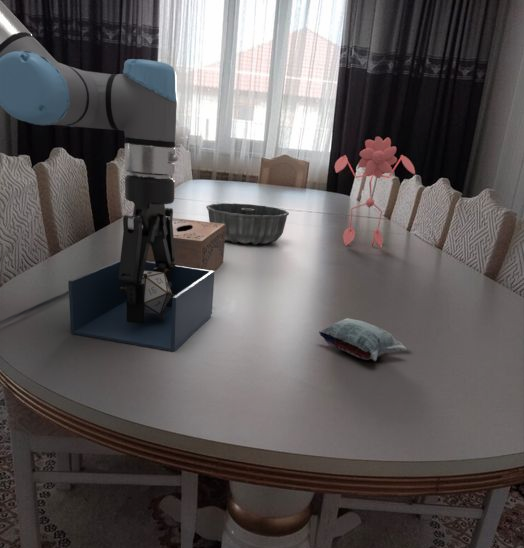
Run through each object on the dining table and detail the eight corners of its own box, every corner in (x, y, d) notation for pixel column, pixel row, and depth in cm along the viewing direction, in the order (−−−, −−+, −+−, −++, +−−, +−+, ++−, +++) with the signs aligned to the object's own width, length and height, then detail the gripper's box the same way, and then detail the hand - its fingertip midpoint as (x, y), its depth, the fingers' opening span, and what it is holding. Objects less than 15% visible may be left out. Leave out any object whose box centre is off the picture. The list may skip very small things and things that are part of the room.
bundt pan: (198, 243, 157) (200, 209, 153) (210, 229, 181) (211, 199, 177) (285, 252, 157) (289, 218, 153) (285, 237, 181) (288, 207, 177)
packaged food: (350, 336, 92) (354, 309, 90) (405, 360, 84) (410, 331, 82) (315, 345, 87) (319, 317, 85) (370, 371, 79) (375, 341, 77)
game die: (137, 333, 90) (112, 281, 90) (182, 313, 92) (157, 263, 92) (140, 325, 81) (111, 267, 81) (188, 303, 84) (161, 247, 84)
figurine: (322, 241, 180) (336, 132, 167) (394, 247, 183) (414, 140, 170) (330, 250, 166) (347, 132, 153) (408, 256, 169) (431, 141, 155)
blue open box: (174, 351, 78) (176, 297, 75) (70, 333, 81) (68, 280, 78) (228, 300, 105) (231, 259, 102) (149, 288, 108) (150, 247, 105)
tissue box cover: (169, 256, 137) (170, 217, 133) (223, 262, 136) (225, 224, 132) (135, 279, 113) (135, 233, 110) (199, 287, 112) (201, 241, 108)
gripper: (141, 181, 69) (141, 338, 77) (197, 174, 89) (192, 299, 98) (90, 175, 70) (95, 330, 79) (156, 170, 90) (154, 293, 99)
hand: (148, 313), depth 88 cm, fingers closed on game die, 10 cm apart
